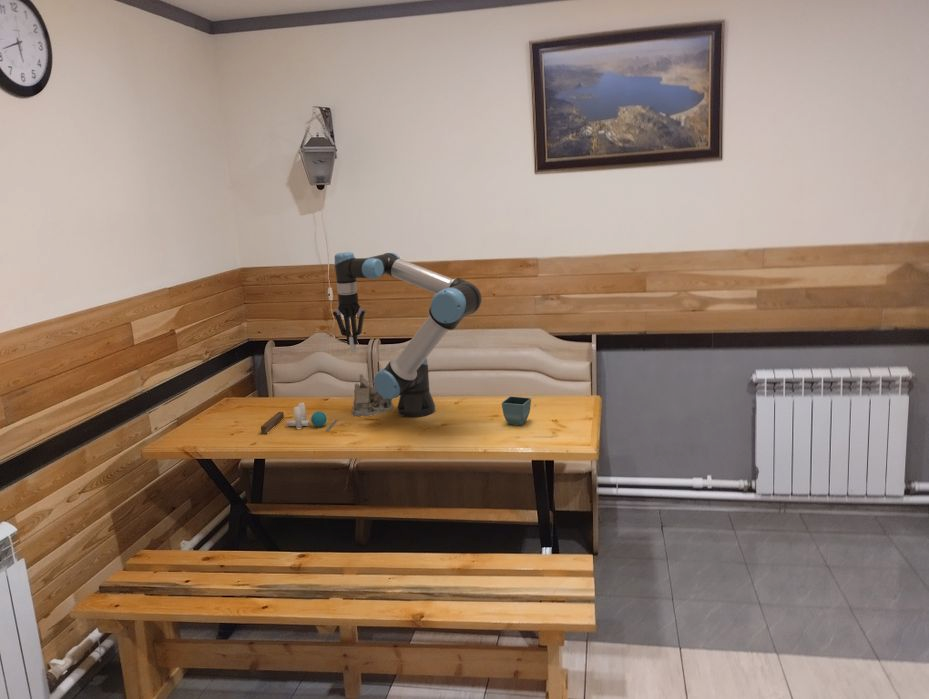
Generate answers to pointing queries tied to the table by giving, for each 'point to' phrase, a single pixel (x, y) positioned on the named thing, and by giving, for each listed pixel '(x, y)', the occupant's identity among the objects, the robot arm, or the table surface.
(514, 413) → the flower pot
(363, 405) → the grey castle model
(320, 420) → the ball
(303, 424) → the pin front
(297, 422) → the pin
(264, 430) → the brown wooden bar
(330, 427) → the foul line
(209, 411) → the table surface
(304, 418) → the pin
